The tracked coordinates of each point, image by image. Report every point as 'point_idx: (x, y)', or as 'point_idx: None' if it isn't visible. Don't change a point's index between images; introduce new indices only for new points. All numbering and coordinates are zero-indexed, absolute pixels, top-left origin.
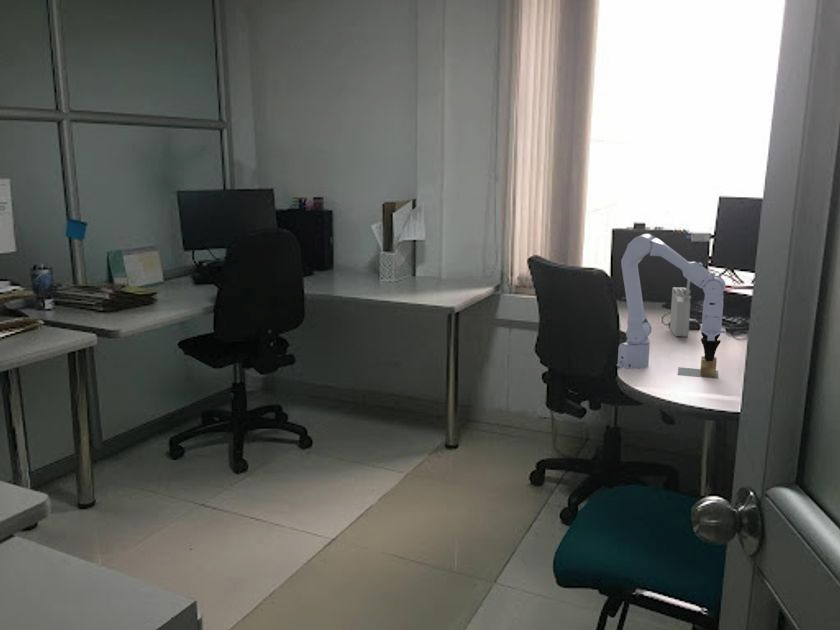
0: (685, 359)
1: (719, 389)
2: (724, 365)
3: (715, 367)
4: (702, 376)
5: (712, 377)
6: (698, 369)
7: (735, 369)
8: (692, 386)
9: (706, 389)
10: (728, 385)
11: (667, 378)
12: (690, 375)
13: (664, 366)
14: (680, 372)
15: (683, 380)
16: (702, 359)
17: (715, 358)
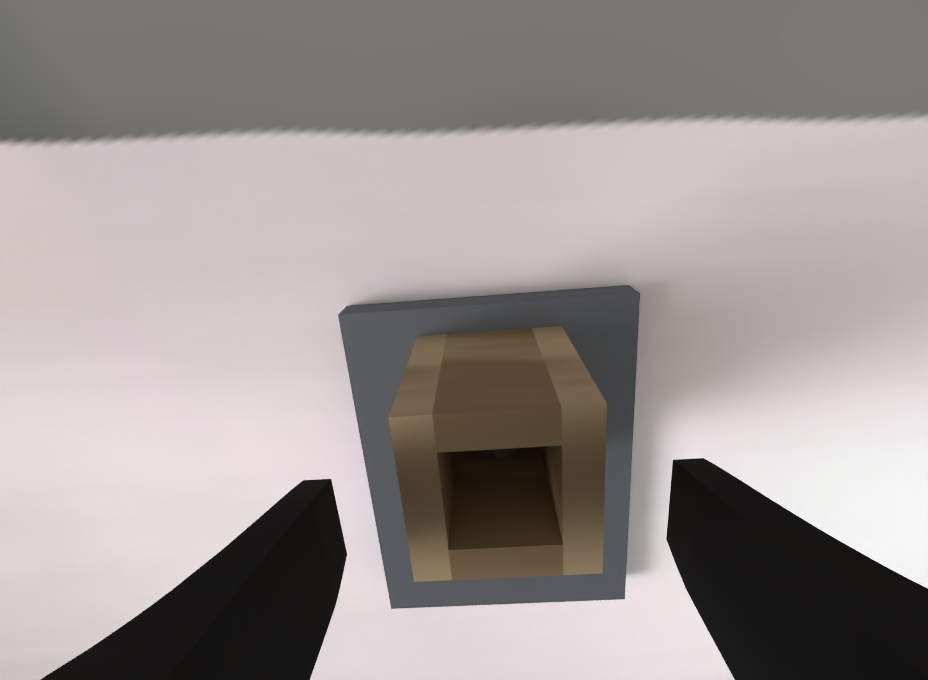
0: (55, 566)
1: (884, 258)
2: (13, 263)
3: (582, 369)
4: (607, 431)
5: (615, 349)
6: (385, 476)
7: (89, 143)
8: (823, 469)
9: (897, 364)
10: (728, 181)
11: (645, 626)
12: (607, 518)
13: (340, 663)
14: (543, 586)
15: (666, 536)
16: (585, 564)
17: (468, 425)
